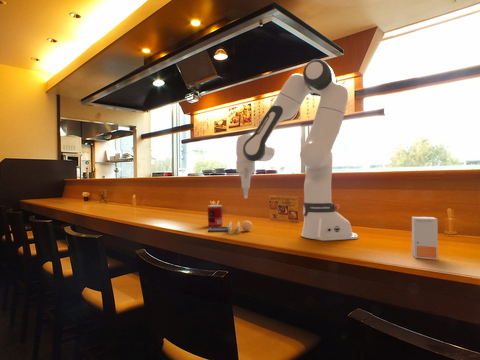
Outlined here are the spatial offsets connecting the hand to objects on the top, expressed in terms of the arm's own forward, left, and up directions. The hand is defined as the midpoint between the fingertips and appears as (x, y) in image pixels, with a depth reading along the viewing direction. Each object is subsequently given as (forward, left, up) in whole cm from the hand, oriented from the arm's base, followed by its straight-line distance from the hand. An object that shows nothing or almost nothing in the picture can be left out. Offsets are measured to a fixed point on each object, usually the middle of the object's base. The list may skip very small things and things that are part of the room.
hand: (245, 197), depth 140 cm
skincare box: (-53, +51, -16) cm, 75 cm away
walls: (+6, 0, -16) cm, 17 cm away
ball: (0, 0, -16) cm, 16 cm away
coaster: (+14, -3, -16) cm, 21 cm away
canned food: (+17, -18, -16) cm, 29 cm away
